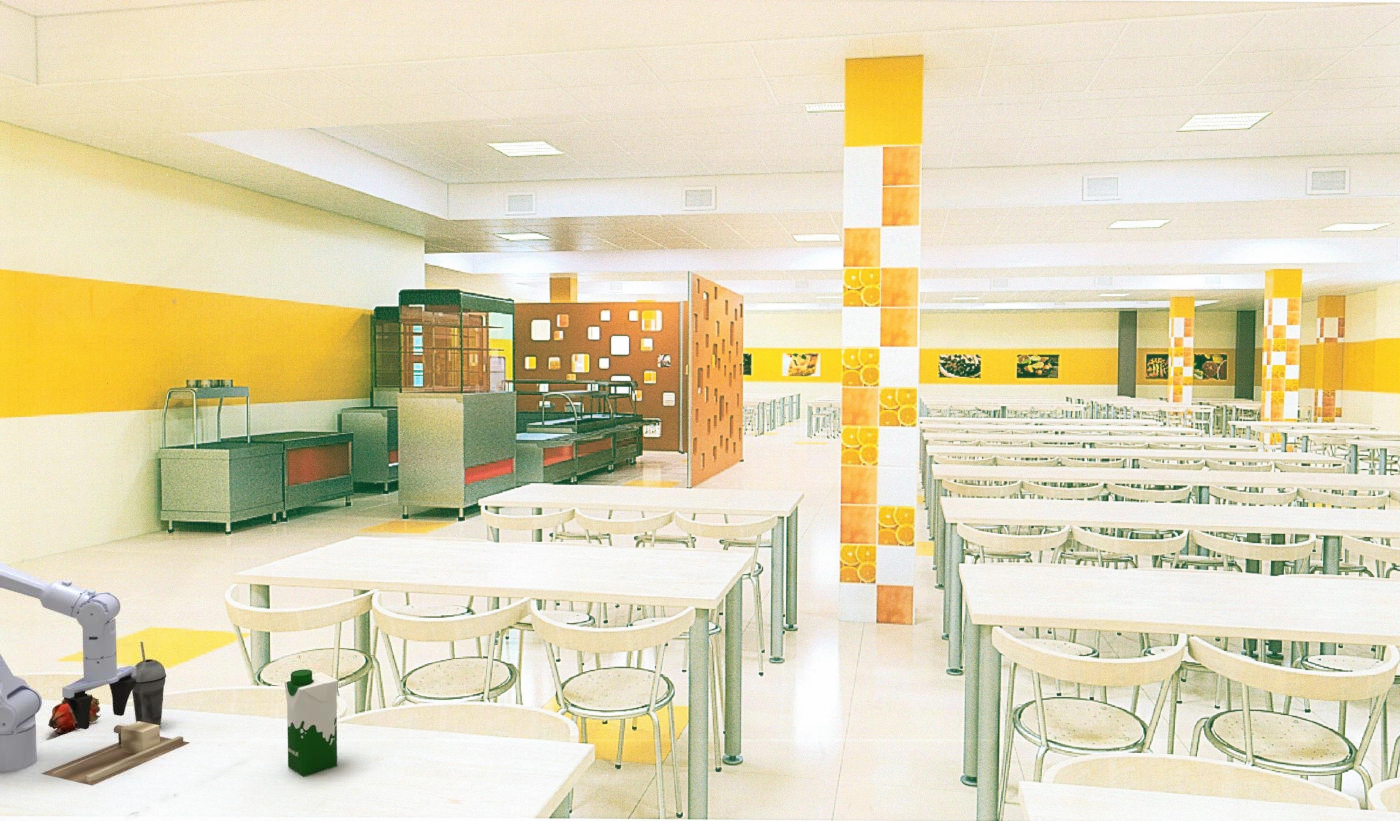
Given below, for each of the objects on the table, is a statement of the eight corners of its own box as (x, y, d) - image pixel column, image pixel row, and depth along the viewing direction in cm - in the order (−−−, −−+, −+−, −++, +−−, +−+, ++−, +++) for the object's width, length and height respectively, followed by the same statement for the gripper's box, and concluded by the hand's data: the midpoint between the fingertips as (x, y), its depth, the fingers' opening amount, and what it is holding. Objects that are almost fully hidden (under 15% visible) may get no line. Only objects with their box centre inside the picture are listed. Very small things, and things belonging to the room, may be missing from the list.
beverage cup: (174, 726, 216) (172, 639, 215) (140, 737, 210) (138, 647, 209) (156, 719, 220) (154, 633, 219) (123, 730, 214) (121, 641, 213)
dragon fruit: (104, 726, 220) (56, 754, 209) (78, 702, 221) (28, 729, 210) (117, 701, 217) (68, 728, 206) (90, 677, 218) (40, 703, 207)
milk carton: (281, 766, 196) (280, 670, 195) (324, 753, 203) (323, 660, 202) (300, 779, 190) (299, 680, 189) (344, 765, 197) (343, 669, 196)
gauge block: (108, 748, 200) (108, 725, 200) (126, 741, 204) (125, 718, 204) (142, 755, 197) (142, 731, 197) (160, 748, 201) (159, 725, 200)
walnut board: (41, 780, 188) (41, 767, 188) (142, 739, 209) (141, 727, 209) (92, 792, 184) (92, 778, 183) (190, 749, 204) (190, 736, 204)
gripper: (79, 668, 186) (81, 737, 186) (146, 647, 199) (148, 711, 200) (54, 663, 188) (55, 731, 189) (121, 643, 202) (123, 706, 202)
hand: (101, 721), depth 195 cm, fingers open, 7 cm apart
